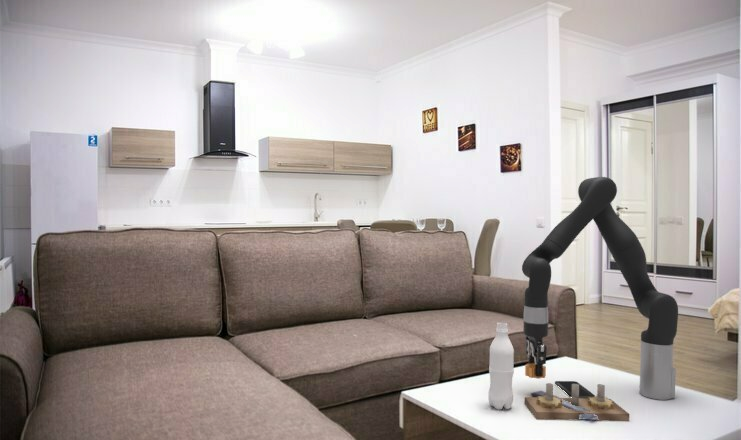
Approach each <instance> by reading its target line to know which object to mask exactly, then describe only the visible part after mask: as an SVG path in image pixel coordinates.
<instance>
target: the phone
mask: <svg viewBox="0 0 741 440" xmlns="http://www.w3.org/2000/svg"><path fill="white" fill-rule="evenodd" d="M555 384H556V385H557V386H556V385H555ZM572 384H578V385H579V398H588V397H591V398H592V397H594V396H596V395H595V394H593V393H592V392H591V391H590V390H588V389H587V388H586V387H585V386H583V385H582V384H581V383H579V382H578V381H576V380H574V381H573V380H555V381H554V385H555V386H556V387H558V386H559V387H560V388H561V389H562V390H564V391H565V392H566V393H567V394H568V395H569V396H570V397H572ZM559 387H558V388H559ZM560 388H559V389H560ZM561 389H560V390H561ZM562 390H561V391H562ZM565 392H564V393H565ZM566 393H565V394H566ZM567 394H566V395H567ZM568 395H567V396H568ZM569 396H568V397H569ZM570 397H569V398H570Z"/></svg>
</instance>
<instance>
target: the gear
mask: <svg viewBox="0 0 741 440" xmlns="http://www.w3.org/2000/svg"><path fill="white" fill-rule="evenodd" d="M524 369H525V370H524V371H525V373H524V375H525V376H526V377H528V378H530V379H539V380H540V379H545V378H546V376H547V375H546V372H547V366H546V365H543V376H542V377H537V376H535V364H534V363H531V364H529V363H526V364H525V368H524Z"/></svg>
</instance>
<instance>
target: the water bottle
mask: <svg viewBox="0 0 741 440" xmlns="http://www.w3.org/2000/svg"><path fill="white" fill-rule="evenodd" d="M495 331H496V335H495V336H494V339H493V340H492V342H491V344H490V346H489V367H488V372H489V381H490V383H489V388H488V389H489V390H488V401H489V405H490V406H491V407H492V408H493V407H494V408H495V409H497V410H502V409H503V407H504V409H505V410H509V409H511V407H512V405H513V402H514V394H513V377H514V373H515V369H514V358H515V357H514V355H515V350H514V349H515V348H514V347H513V345H512V341H511V340H510V337H509V334H508V332H509V330H508V323H507V322H501V321H500V322H498V321H497V322H496V330H495Z"/></svg>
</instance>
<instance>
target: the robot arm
mask: <svg viewBox="0 0 741 440" xmlns="http://www.w3.org/2000/svg"><path fill="white" fill-rule="evenodd" d="M578 185H579V186H578V190H577V194H578V197H579V201H580V203H579V204H578V205H577V206H576V207H575V208H574V209H573V210H572V212H570V213H569V214H568V215H567V216H565V218H563V219H562V220H561V221H560V222H559V223H557V225H555V227H553V229H552V230H551V231H550V233H549V234H548V235H547V236H546V237H545V238H544V240H543V241H542V242H541V243H540V244H539V245H538V246H537V247H536V248H535V249H534V250H533V251H531V253H529V254H528V255H527V256H526V258H525V259H524V261H523V262H522V265H521V270H522V273H523V274H524V276H525V277H527V278H529V281H528V286H527V287H526V288H525V291H524V306H523V307H524V308H523V331H522V332H523V335H524V336H525V354H526V355H527V358H528V364H531V363H534V364H535V376H537V377H542V376H543V366H545V365H546V364H547V345H546V344H544V341H543V338H546V337H548V336H549V310H548V309H549V308H548V304H549V303H548V301H549V300H548V299H549V298H548V297H549V296H548V293H549V292H548V291H549V289H550V283H551V281H552V267H551V264H550V263H552V261H554V260H555V259H559V258H561V257H562V255H564V253H565V252H566V251H567V249H568V248H569V247H570V245H571V244H572V243H573V242H574V240H575V239H576V238H577V237H578V236H579V235H580V234H581V232H582V231H583V230H584V229H585V228H586V227H587V226H588V224H589V223H591V222H592V220H593V222H594V223H595V225H596V226H597V227H596V228H597V229H598V231H599V232H600V235H601V237H602V238H603V241H604V242H605V244H606V246H607V248H608V251H609V253H610V254H611V257H612V258H613V260H614V262H615V264H616V265H617V267H618V269H619V270H620V272H621V274H622V276H623V278H624V280H625V281H626V284H627V286H628V287H629V290H630V293H631V296H632V297H633V300H634V303H635V306H636V308H637V310H638V312H639V313H640V314H641V315H642V316H643V317H645V318H647V319H648V328H647V329H645V330H643V331H641V333H640V356H639V357H640V362H639V363H640V364H639V365H640V366H639V367H640V368H639V394H640V395H642V396H643V397H646V398H649V399H653V400H659V401H660V400H661V401H662V400H663V401H666V400H671V399H675V398H676V377H677V376H676V372H677V371H676V370H677V369H676V368H675V367H674V339H675V337H676V336H677V332H678V321H679V320H678V319H679V307H678V302H677V299H676V298H674V297H673V296H672V295H670V294H669V293H668V294H667V293H664V292H660V291H658V290H657V288H656V287H655V285H654V284H653V282H652V280H651V278H650V276H649V273H648V270H647V268H648V267H647V266H648V265H647V256H646V253H645V250H644V248H643V246H642V243H641V242H640V240H639V239H638V236H637V235H636V233H635V232H634V231H633V230H632V228H630V227H629V225H628V224H627V223H626V222H625V221H624V220H622V218H620V216H619V215H618V214H617V212H616V211H615V209H614V208H613V206H612V202H613V201H614V200H615V198H616V196H617V192H618V187H617V185H616V182H615V181H614V180H613V179H611V178H609V177H606V176H597V177H589V178H586V179H584V180H583V181H582V182H580V183H579V184H578Z"/></svg>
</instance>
